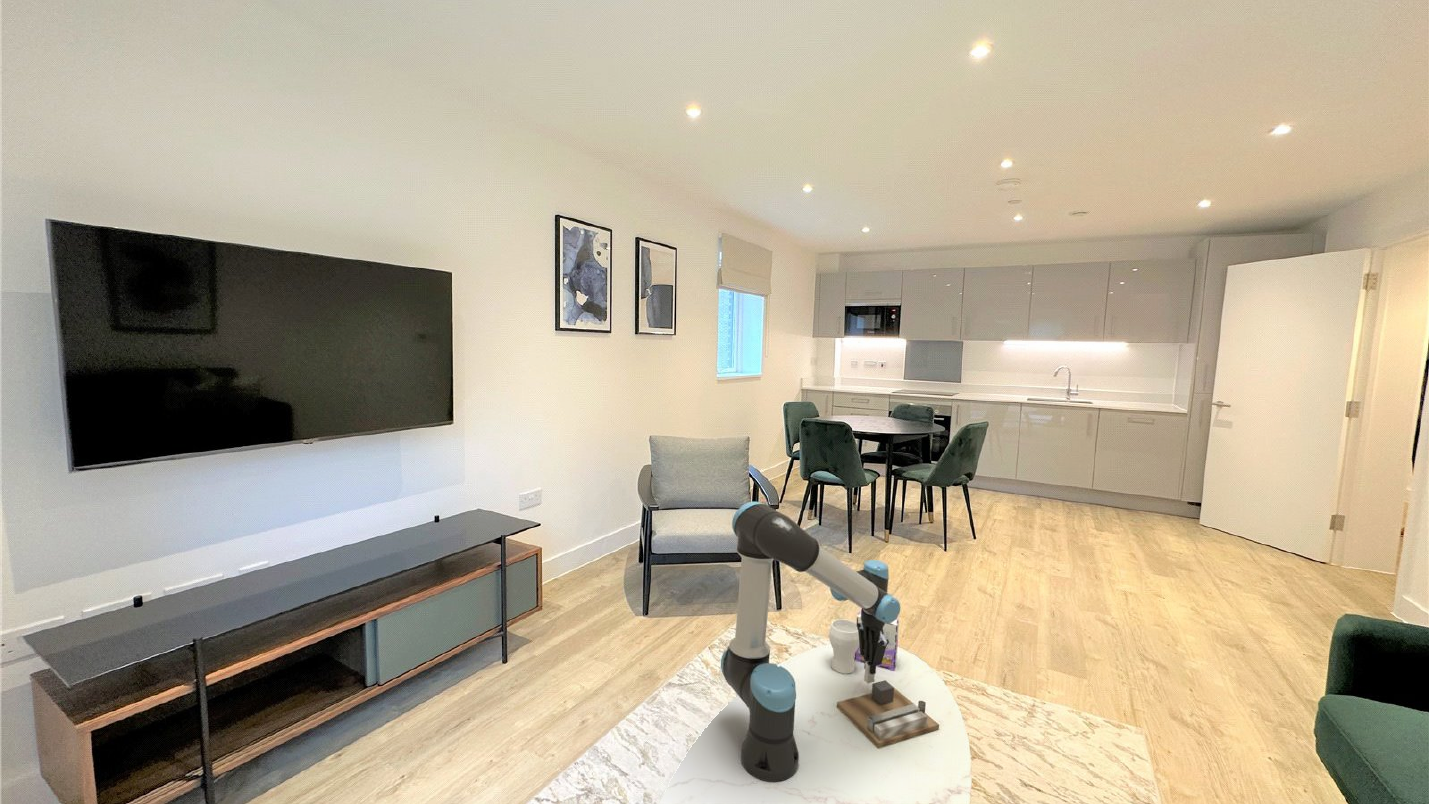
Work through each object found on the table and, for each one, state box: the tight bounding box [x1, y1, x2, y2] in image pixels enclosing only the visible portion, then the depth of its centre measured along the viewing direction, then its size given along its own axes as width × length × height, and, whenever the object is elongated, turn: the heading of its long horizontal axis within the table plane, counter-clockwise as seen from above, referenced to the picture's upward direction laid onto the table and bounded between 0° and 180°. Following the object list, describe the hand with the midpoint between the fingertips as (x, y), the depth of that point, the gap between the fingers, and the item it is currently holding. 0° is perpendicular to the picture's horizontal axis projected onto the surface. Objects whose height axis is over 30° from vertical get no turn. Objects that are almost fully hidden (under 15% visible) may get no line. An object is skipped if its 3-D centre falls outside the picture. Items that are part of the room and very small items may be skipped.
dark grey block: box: [871, 680, 895, 705], centre depth 170 cm, size 5×4×4 cm
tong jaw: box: [867, 703, 920, 732], centre depth 159 cm, size 17×2×3 cm, turn 113°
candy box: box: [854, 609, 900, 671], centre depth 193 cm, size 14×6×16 cm, turn 65°
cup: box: [828, 618, 859, 675], centre depth 189 cm, size 11×11×15 cm
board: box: [836, 687, 940, 750], centre depth 164 cm, size 22×19×6 cm
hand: (869, 681), depth 176 cm, fingers closed
